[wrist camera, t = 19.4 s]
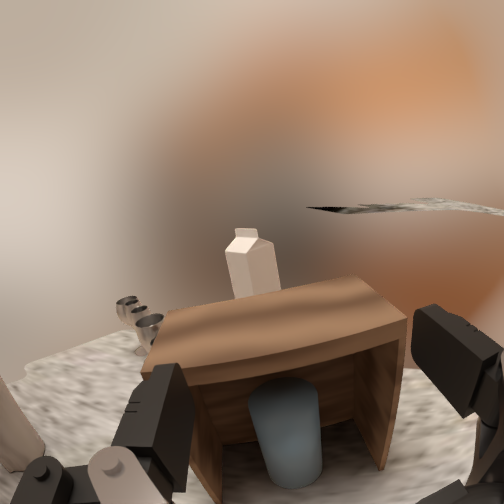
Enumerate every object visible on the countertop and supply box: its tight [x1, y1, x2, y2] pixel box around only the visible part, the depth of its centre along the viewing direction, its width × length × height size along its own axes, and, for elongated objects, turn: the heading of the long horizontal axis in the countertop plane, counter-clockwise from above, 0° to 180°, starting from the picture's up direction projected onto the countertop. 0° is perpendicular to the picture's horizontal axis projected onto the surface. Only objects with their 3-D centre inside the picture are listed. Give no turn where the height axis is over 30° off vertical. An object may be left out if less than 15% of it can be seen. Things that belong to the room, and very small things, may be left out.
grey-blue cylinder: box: [248, 377, 322, 489], centre depth 24 cm, size 6×6×12 cm
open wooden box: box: [140, 274, 407, 504], centre depth 24 cm, size 10×18×20 cm, turn 94°
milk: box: [225, 228, 281, 299], centre depth 52 cm, size 6×6×22 cm
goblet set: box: [116, 296, 165, 363], centre depth 48 cm, size 28×6×13 cm, turn 38°
